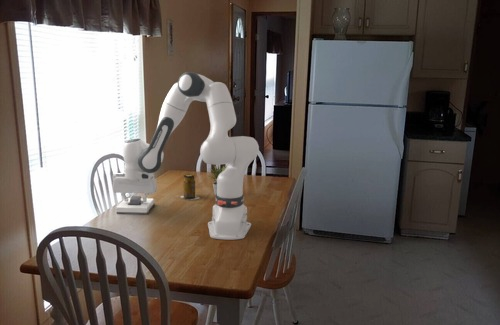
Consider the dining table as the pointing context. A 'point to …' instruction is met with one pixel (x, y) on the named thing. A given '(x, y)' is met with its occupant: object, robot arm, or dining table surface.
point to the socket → (135, 207)
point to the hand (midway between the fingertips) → (135, 201)
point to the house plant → (216, 173)
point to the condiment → (189, 187)
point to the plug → (135, 200)
